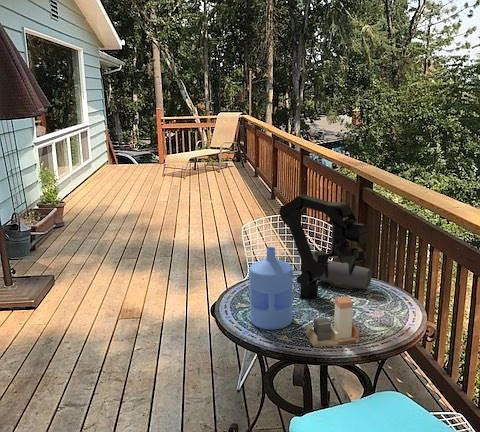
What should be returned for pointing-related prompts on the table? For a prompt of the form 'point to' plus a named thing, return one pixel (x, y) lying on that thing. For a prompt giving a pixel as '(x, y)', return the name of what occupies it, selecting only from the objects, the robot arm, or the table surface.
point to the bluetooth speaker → (347, 276)
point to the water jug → (271, 292)
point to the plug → (343, 317)
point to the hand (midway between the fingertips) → (338, 276)
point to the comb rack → (328, 334)
